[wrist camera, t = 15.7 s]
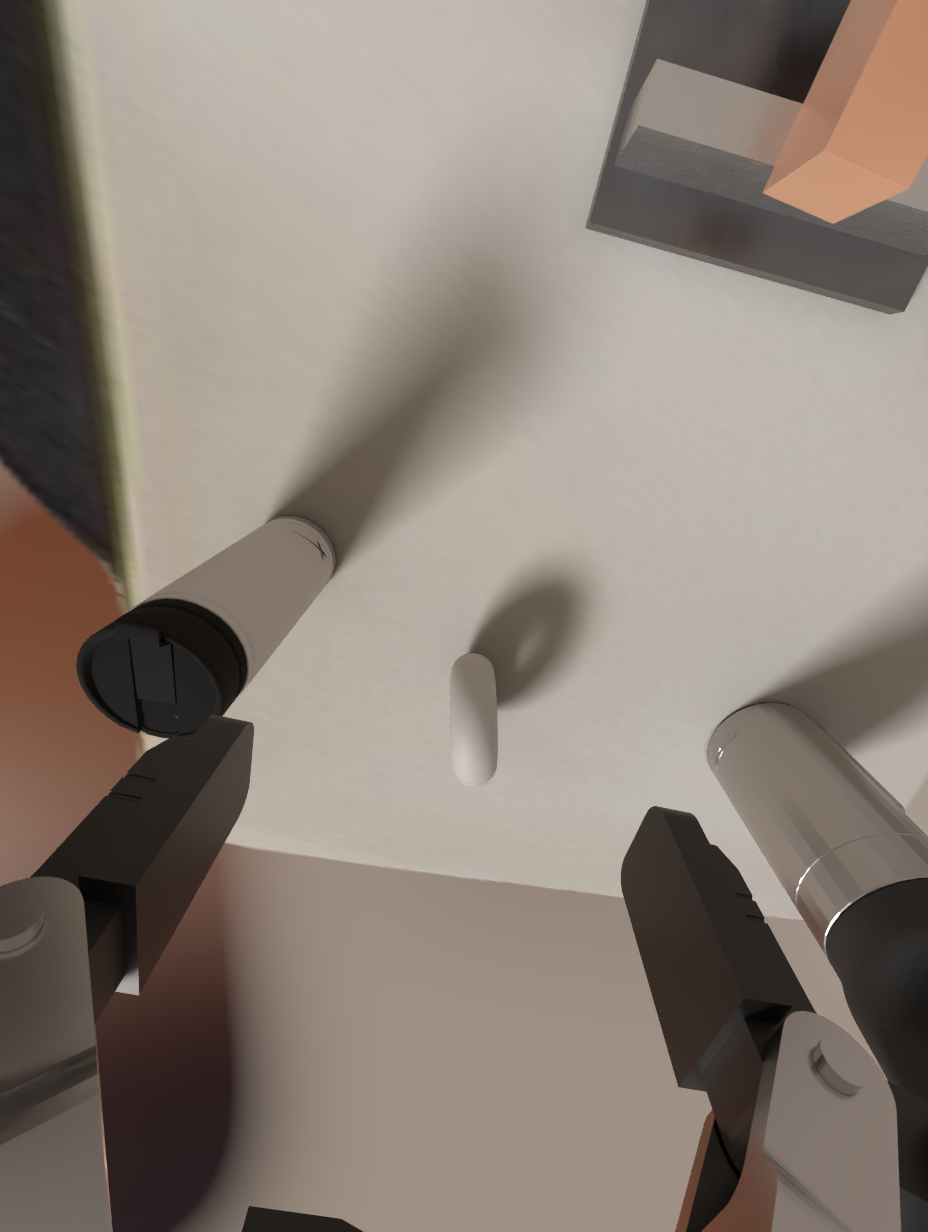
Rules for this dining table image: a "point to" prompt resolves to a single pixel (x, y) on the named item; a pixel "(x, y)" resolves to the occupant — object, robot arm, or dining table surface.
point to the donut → (473, 719)
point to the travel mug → (206, 631)
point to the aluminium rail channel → (744, 154)
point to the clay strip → (860, 115)
